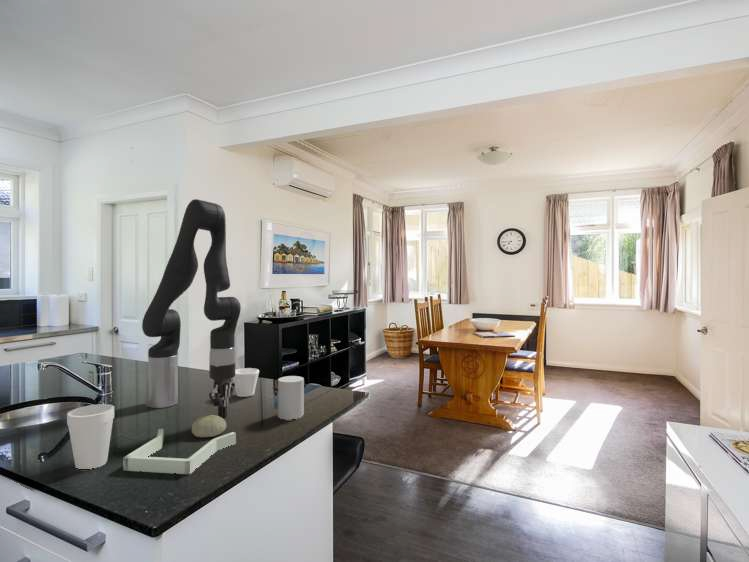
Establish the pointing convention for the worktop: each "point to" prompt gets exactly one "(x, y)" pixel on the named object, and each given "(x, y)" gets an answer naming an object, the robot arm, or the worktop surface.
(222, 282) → the robot arm
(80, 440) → the foam cup
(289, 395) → the cup
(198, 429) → the sea urchin shell
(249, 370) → the cup
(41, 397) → the worktop surface
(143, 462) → the flared u-shaped rail
